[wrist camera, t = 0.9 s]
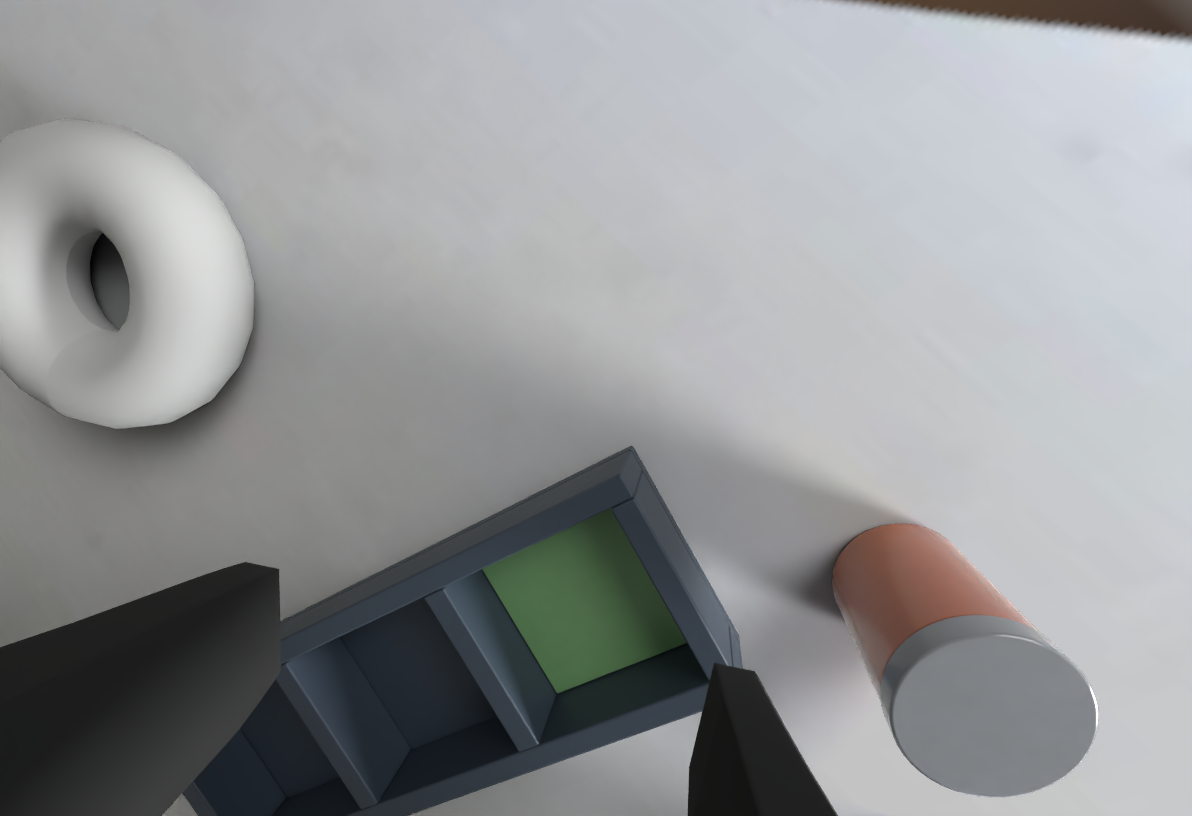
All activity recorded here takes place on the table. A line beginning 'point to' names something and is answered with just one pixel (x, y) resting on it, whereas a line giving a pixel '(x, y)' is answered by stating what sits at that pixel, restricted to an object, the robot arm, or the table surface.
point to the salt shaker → (961, 667)
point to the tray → (483, 658)
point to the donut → (153, 266)
